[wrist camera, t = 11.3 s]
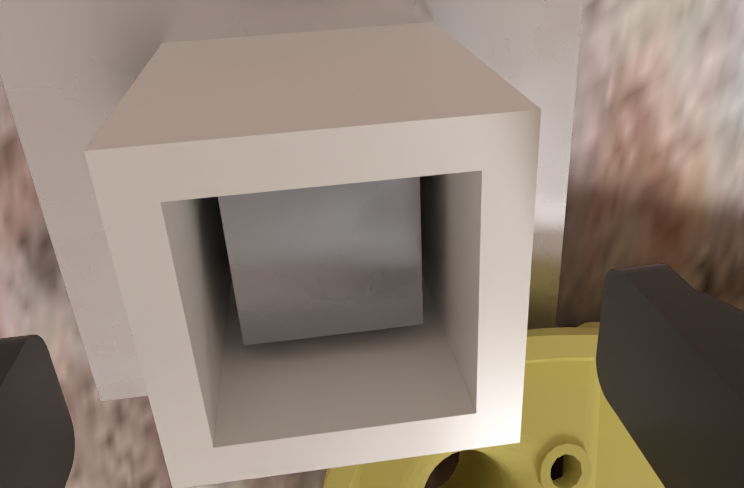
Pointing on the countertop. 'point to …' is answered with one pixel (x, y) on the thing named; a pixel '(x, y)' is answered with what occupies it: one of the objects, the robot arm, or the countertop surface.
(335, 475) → the plastic component
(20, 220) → the countertop surface
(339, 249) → the duct stub
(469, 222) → the square tube sleeve
